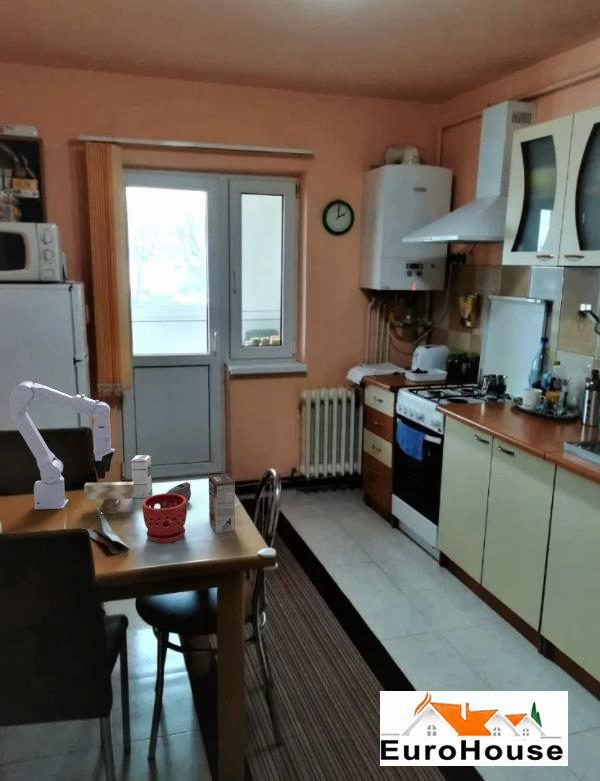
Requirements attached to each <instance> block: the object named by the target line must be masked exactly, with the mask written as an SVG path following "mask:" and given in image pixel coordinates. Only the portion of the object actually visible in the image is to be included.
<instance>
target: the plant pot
mask: <svg viewBox="0 0 600 781" xmlns="http://www.w3.org/2000/svg"><path fill="white" fill-rule="evenodd" d="M164 501H165V502H167V504H166V505H163V504H162V503H163V502H164ZM175 502H177V504H175ZM187 503H188V502H187V501H186V498H185V497H184V496H182V495H179V494H172V493H167V492H165V493H159V494H154V495H150V496H149V497H148V498H144V500H143V501H142V504H141V505H142V506H141V507H142V515H143V521H144V525H145V527H146V529H147V531H146V536H147V538H148V539H149V540H150V541H152V542H156V543H160V544H161V543H162V544H163V543H165V544H166V543H173V542H176V541H178V540H180V539H182V538H183V537H184V535H185V534H186V528H185V527H184V526H185V524H186V522H187V521H186V519H187V515H188V514H187V513H188V504H187ZM170 504H172V506H170ZM156 505H159V506H160V508H155V506H156Z"/></svg>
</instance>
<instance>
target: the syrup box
mask: <svg viewBox="0 0 600 781" xmlns="http://www.w3.org/2000/svg"><path fill="white" fill-rule="evenodd" d="M130 462H131V482H134V491H135V496H134V498H136V499H147V498H148V497H151V496H152V494H153V477H152V476H153V475H152V474H153V473H152V472H153V471H152V456H151V455H145V454H140V455H138V454H137V455H135V456H134V457H133V458H132V459H131V460H130ZM134 498H133V499H134Z"/></svg>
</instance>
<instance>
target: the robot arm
mask: <svg viewBox="0 0 600 781" xmlns="http://www.w3.org/2000/svg"><path fill="white" fill-rule="evenodd" d="M33 399H34V401H38V400H44V399H46V400H49V401H52V402H56V403H59V404H63V405H65V406H68V407H69V408H70V411H72V412H74V413H75V412H76V413H78V414H81V415H85V416H86V417H87V416H88V417H92V418H93V426H92V427H93V454H94V456H95V458H91V459H90V461H91V464H92V466H94V469H95V472H96V477H97V479H100V480H101V479H103V480H104V479H105V478H106V473H109V472H110V469H111V466H112V465H111V462H112V459H113V456H114V454H115V450H116V448H112V431H111V430H112V428H111V419H110V416H111V406H110V405H109V404H108V403H106V402H105V401H100V400H98V399H95V400H94V399H93V398H88V397H87V396H86V395H85V394H83V393H81V394H76V395H73V396H71V395H69V394H67V393H64V392H61V391H59V390H57V389H54V388H51V387H49V386H47V385H44V384H42V383H41V384H40V383H36V382H35V383H34V381H30V380H24V381H22V382H20V383H19V384H18V385H17V386H15V387H14V388H13V389H12V392H11V394H10V395H9V417H10V418H11V419H12V421H13V423H14V425H15V426H16V428H17V430H18V431H19V433H20V435H21V436H22V438H23V440H24V441H25V443H26V444H27V446H28V449H30V451H31V453H32V455H33V456H34V458H35V460H36V463H37V467H38V469H39V473H40V478H41V480H36V481H35V483H34V485H33V495H34V496H33V497H34V498H33V499H34V510H50V509H51V510H57V509H64V508H65V506H66V505H67V503H68V502H69V499H67V498H66V496H65V478H64V477H63V475H62V473H63V471H64V463H63V462H62V460H60V459H58V458H57V457H56V455H55V454H54V453H53V452H52V451H51V450H50V449H49V447H48V445H47V444H46V442H45V440H44V439H43V437H42V435H41V433H40V432H39V430H38V429H37V427H36V425H35V423H34V421H33V420H32V418H31V416H30V415H29V413H28V409H29V407H30V404H31V401H32V400H33Z"/></svg>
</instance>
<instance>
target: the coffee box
mask: <svg viewBox="0 0 600 781" xmlns="http://www.w3.org/2000/svg"><path fill="white" fill-rule="evenodd" d="M235 484H236V483H235V481H234V479H232V478H231V476H230V475H228V473H226V474H213V475H211V474H210V475H208V503H209V505H208V507H209V508H208V509H209V510H208V512H209V514H208V515H209V516H208V517H209V524H210V526H211V528H212V529H213V531H214V532H215V533H216V534H217V533H218V534H219V533H220V534H221V533H227V532H234V531H235V525H236V524H235V519H236V518H235V517H236V516H235V514H236V512H235V511H236V504H235V503H236V502H235V499H236V498H235V497H236V496H235V495H236V492H235V490H236V488H235V486H236V485H235Z"/></svg>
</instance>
